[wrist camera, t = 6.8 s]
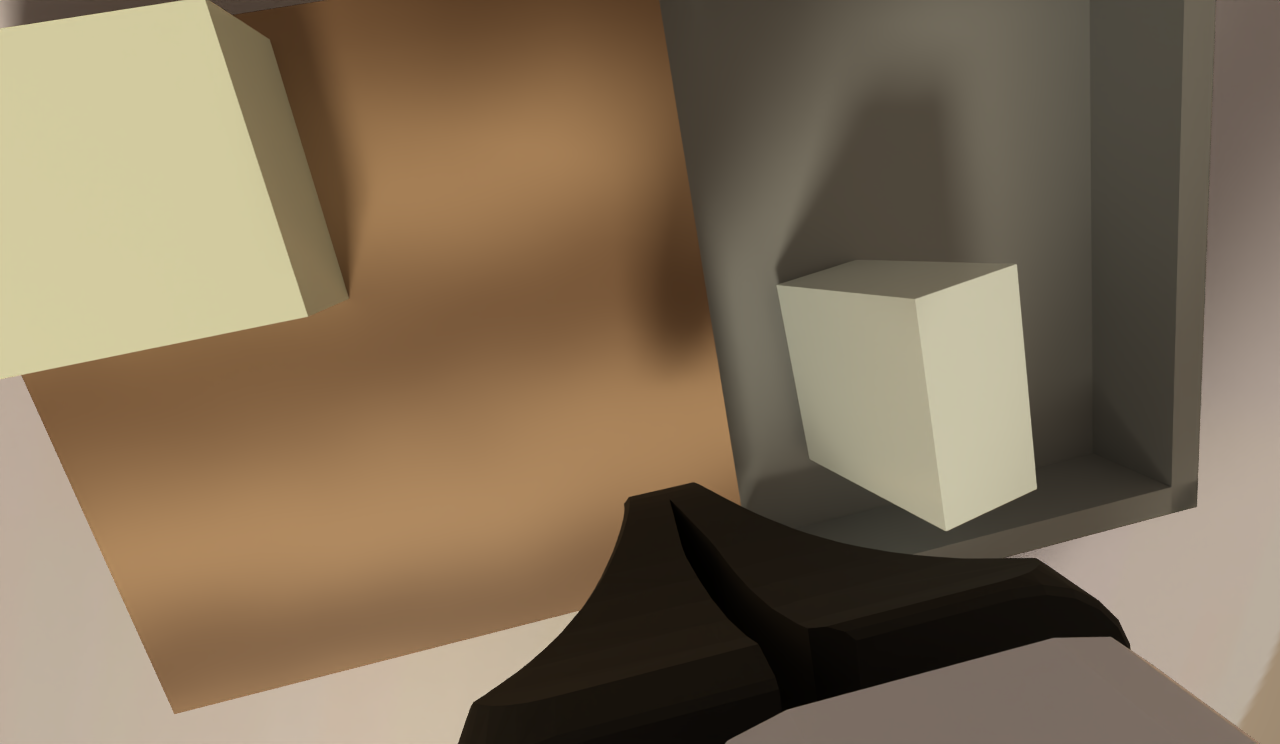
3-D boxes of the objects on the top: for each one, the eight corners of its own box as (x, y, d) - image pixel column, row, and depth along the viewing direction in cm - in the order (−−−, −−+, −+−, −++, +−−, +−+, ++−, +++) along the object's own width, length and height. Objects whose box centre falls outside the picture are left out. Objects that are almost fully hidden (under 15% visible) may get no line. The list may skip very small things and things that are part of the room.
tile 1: (809, 458, 18) (882, 429, 19) (945, 531, 14) (1036, 488, 14) (776, 284, 17) (856, 259, 18) (914, 298, 12) (1017, 263, 13)
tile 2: (349, 298, 14) (308, 316, 11) (96, 349, 13) (-3, 379, 11) (269, 39, 12) (203, -3, 10) (-14, 85, 12) (-155, 52, 9)
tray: (1100, 463, 21) (1196, 507, 18) (727, 558, 20) (761, 621, 17) (1097, -147, 17) (1224, -228, 14) (618, -73, 15) (637, -144, 12)
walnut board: (719, 514, 19) (751, 566, 17) (232, 634, 18) (174, 714, 15) (630, -3, 16) (650, -51, 13) (14, 98, 14) (-117, 70, 12)
